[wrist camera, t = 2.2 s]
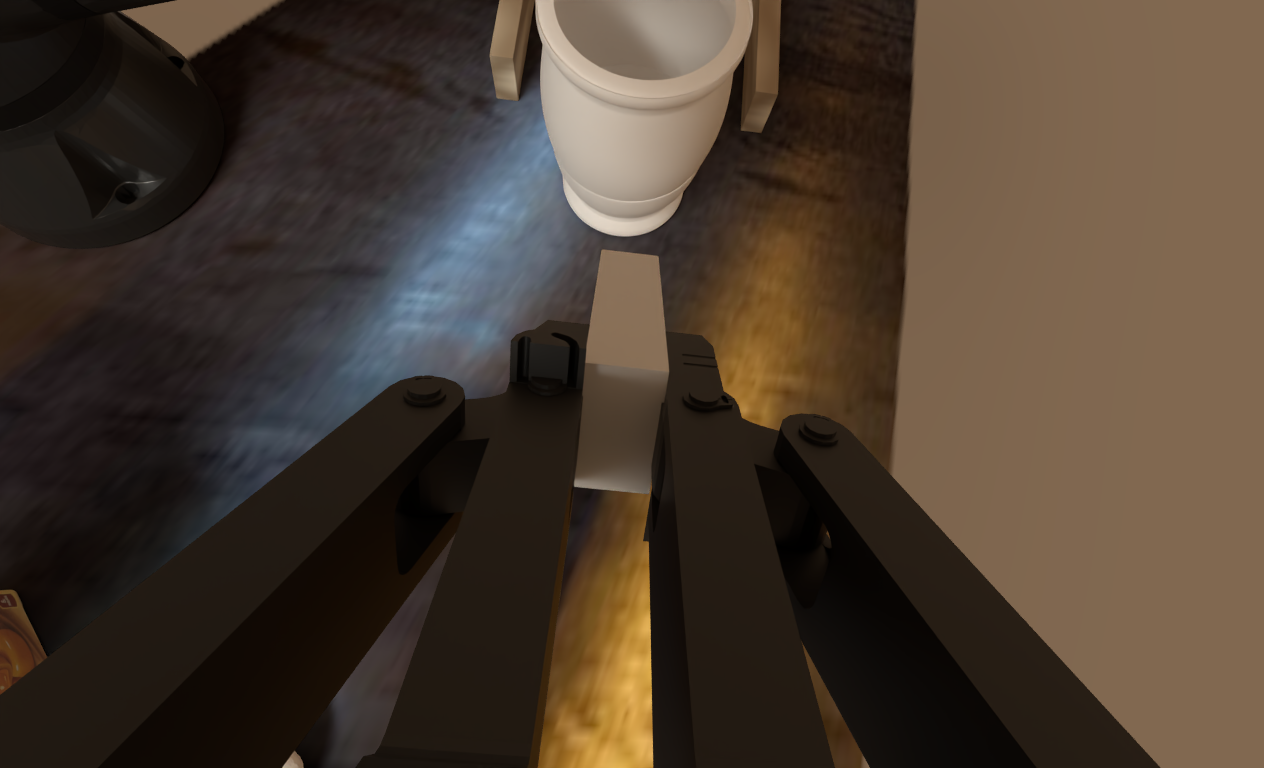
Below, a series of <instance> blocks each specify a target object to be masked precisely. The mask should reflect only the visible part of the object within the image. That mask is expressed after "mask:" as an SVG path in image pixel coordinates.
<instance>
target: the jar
mask: <svg viewBox="0 0 1264 768" xmlns="http://www.w3.org/2000/svg"><path fill="white" fill-rule="evenodd" d="M535 4H536V23H537V28H538V32H539V36H540V39H541V41H542V44H543V47H542V56H541V70H540V88H541V101H542V108H543V114H544V119H545V123H546V127H547V131H548V134H549V138H550V141H551V143H552V146H553V149H554V153H555V156H556V160H557V162H558V165H559V168H560V170H561V172H562V174H563V187H564V192H565V195H566V198H567V200H568V203H569V204H570V206H571V208H572V209H573V211H574V212H575V213H576V214H577V216H578V217H579V218H580V219H581V220H582V221H584V222H585V223H586V224H588V225H589V226H591V227H592V228H594V229H596V230H598V231H600V232H603V233H606V234H610V235H615V236H636V235H641V234H645V233H648V232H650V231H653V230H655V229H656V228H658V227H660V226H661V225H663V224H664V223H665V222H666V221H667V220H669V218H670V217H671V216H672V215H673V214H674V212H675V211H676V210H677V208H678V206H679V204H680V202H681V199H682V196H683V191H684V190H685V189H686V188H687V186H688V185H689V184H690V182H691V181H692V179H693V178H694V176H695V174H696V173H697V171H698V169H699V167H700V165H701V164H702V162H703V161H704V159H705V158H706V156H707V155H708V153H709V151H710V150H711V148H712V146H713V144H714V142H715V140H716V138H717V135H718V133H719V131H720V128H721V125H722V123H723V120H724V117H725V113H726V110H727V106H728V102H729V97H730V92H731V86H732V80H733V72H734V71H735V69H736V68H737V66H738V65H739V63H740V61H741V59H742V57H743V55H744V53H745V50H746V47H747V44H748V41H749V37H750V34H751V30H752V23H753V6H752V0H535Z"/></svg>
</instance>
